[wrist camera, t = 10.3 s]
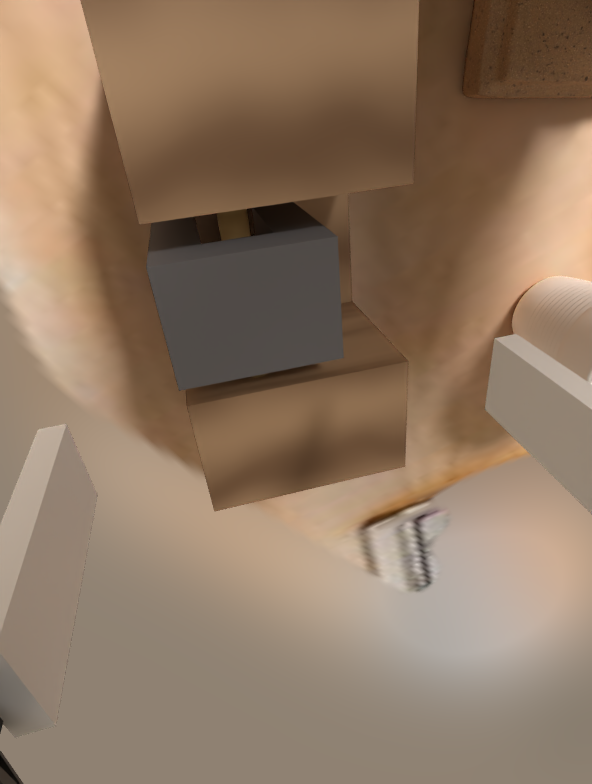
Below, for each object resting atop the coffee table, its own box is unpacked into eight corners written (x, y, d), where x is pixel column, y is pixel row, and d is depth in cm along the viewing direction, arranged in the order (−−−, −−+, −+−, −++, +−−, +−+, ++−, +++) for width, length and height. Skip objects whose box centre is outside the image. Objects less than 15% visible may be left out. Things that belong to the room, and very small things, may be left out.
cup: (507, 383, 43) (598, 459, 34) (472, 298, 38) (569, 360, 29) (606, 321, 42) (728, 381, 33) (584, 224, 37) (722, 264, 28)
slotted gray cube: (151, 220, 28) (146, 267, 20) (290, 200, 29) (337, 236, 21) (175, 317, 31) (179, 390, 23) (300, 295, 32) (343, 357, 24)
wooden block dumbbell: (110, 31, 25) (77, -11, 16) (332, 10, 27) (420, -38, 17) (202, 411, 38) (214, 511, 29) (349, 381, 39) (405, 466, 30)
